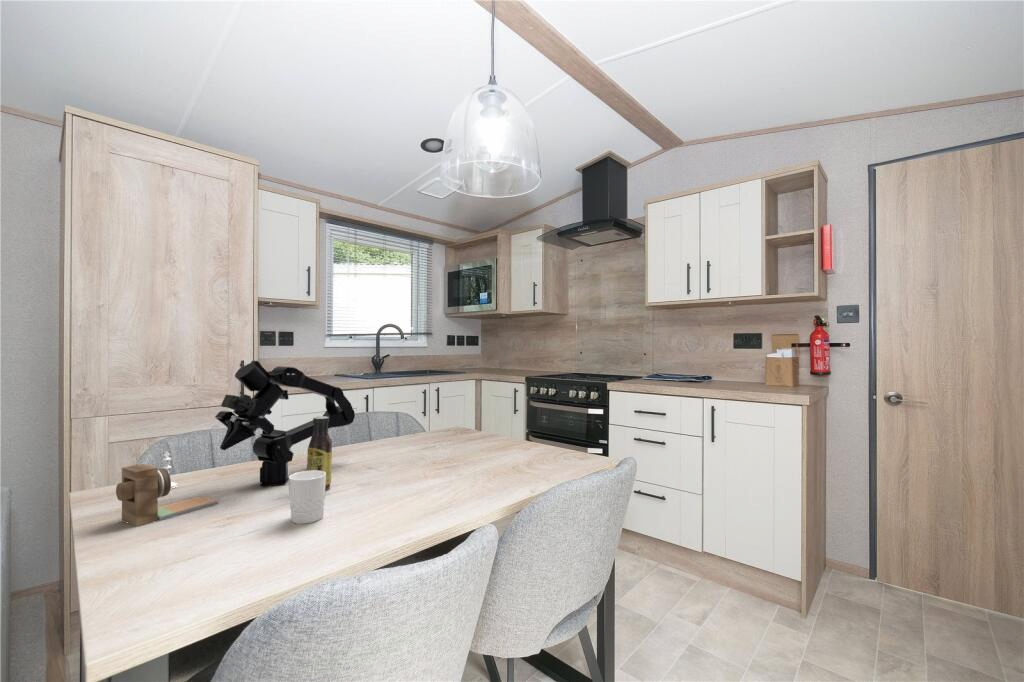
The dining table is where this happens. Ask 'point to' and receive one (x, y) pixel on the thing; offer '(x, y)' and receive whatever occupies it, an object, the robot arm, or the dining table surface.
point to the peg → (128, 488)
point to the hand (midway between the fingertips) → (221, 449)
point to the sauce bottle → (320, 449)
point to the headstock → (141, 495)
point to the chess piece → (166, 466)
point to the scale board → (184, 507)
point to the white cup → (307, 496)
